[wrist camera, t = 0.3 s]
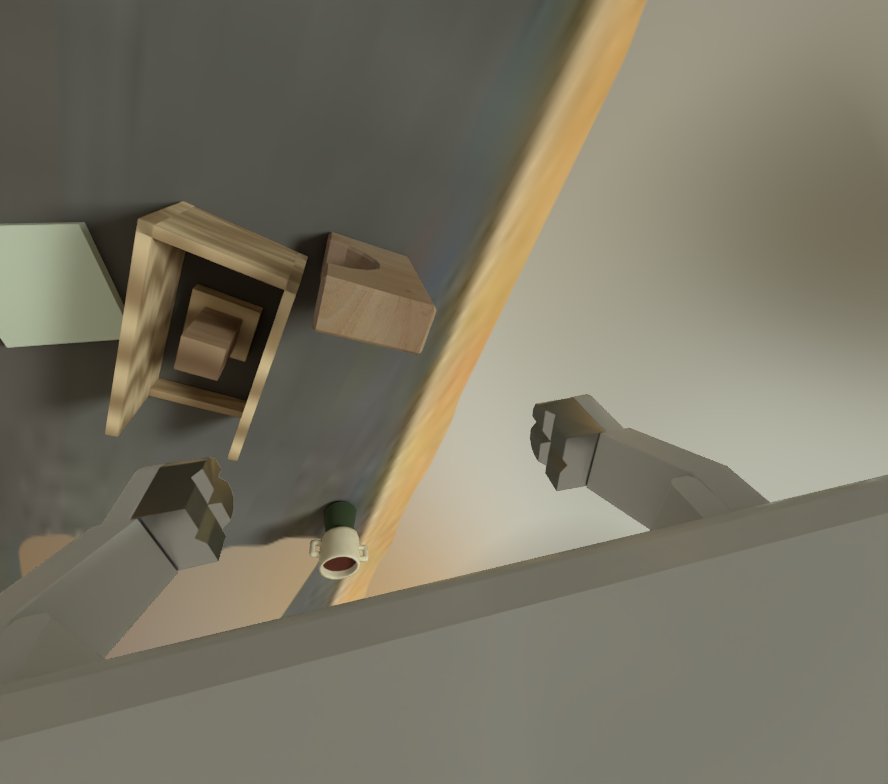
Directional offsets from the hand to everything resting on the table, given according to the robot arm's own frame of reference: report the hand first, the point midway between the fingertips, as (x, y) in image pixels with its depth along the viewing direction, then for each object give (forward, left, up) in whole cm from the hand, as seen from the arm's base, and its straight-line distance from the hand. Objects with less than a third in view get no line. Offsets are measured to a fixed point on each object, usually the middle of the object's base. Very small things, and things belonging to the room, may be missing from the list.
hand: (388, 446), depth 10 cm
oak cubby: (+15, -19, -47) cm, 53 cm away
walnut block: (+15, -19, -45) cm, 51 cm away
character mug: (+57, -9, -47) cm, 74 cm away
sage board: (+9, -37, -47) cm, 60 cm away
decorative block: (+8, +1, -47) cm, 48 cm away
